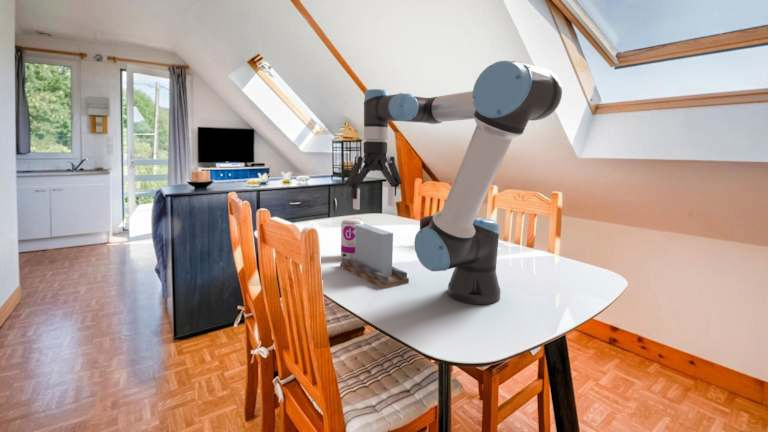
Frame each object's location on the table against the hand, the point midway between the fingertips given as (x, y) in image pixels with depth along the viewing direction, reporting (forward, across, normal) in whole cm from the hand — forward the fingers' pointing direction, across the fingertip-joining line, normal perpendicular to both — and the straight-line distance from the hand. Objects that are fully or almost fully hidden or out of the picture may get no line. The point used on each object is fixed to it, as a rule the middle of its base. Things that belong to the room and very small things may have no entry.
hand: (374, 207), depth 132 cm
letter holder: (+23, -45, -12) cm, 52 cm away
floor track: (+23, 0, 0) cm, 23 cm away
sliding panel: (+21, 0, 0) cm, 21 cm away
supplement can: (+23, -4, -20) cm, 31 cm away
